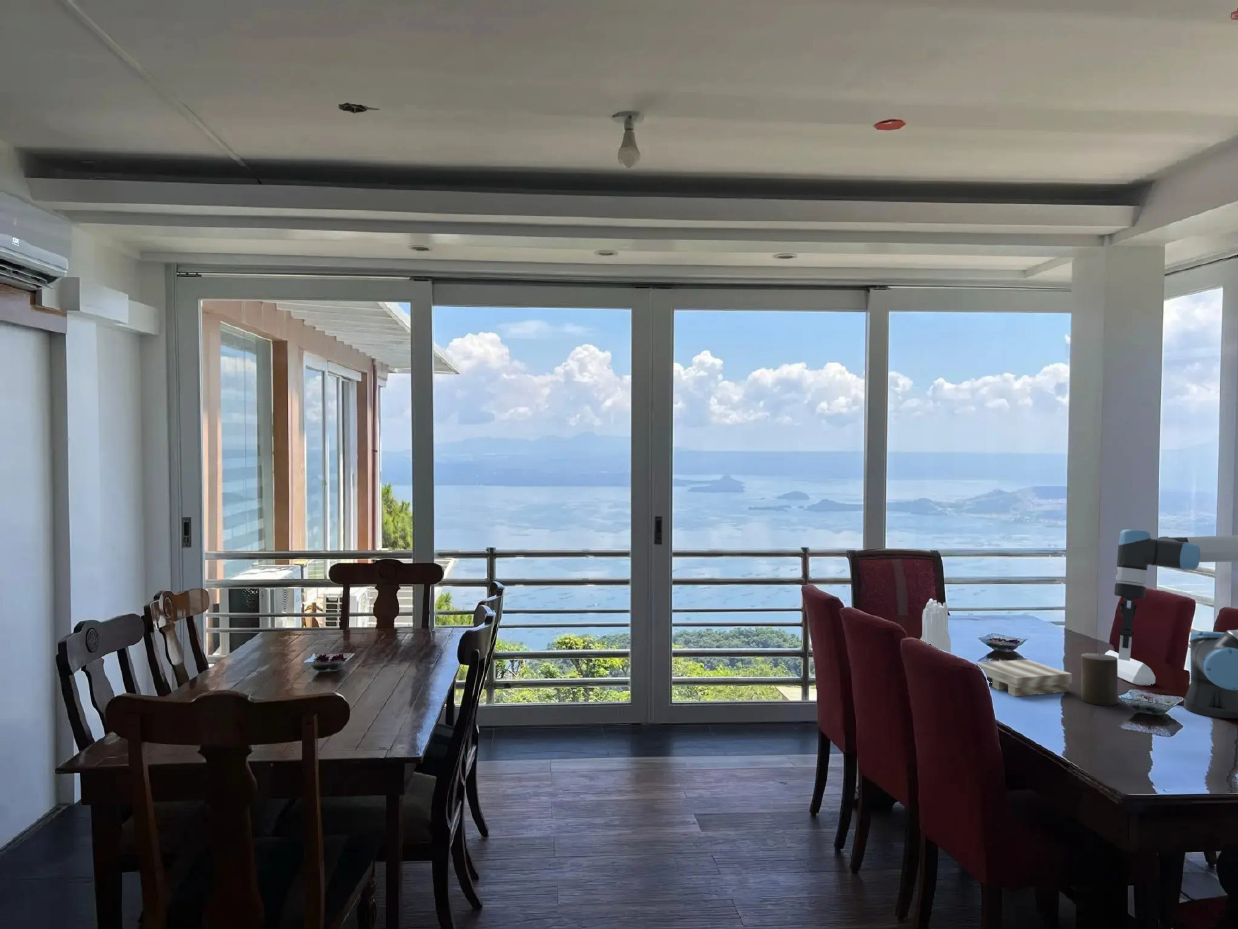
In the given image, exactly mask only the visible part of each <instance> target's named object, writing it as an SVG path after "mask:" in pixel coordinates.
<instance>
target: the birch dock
mask: <svg viewBox="0 0 1238 929" xmlns="http://www.w3.org/2000/svg"><path fill="white" fill-rule="evenodd" d="M976 664H977V665H979V666H980V667H981V669H983V670H984V672H985V674H986V676H987V680H988V681H989V682H990V684H991V682H992V688H993V687H994V688H993V689H995V688H996V689H995V690H998V691H1004V689H1007V692H1008V695H1010V694H1011V695H1010V696H1013V697H1023V696H1025V697H1027V696H1033V695H1032V694H1038V695H1040V694H1039V693H1050V694H1057V693H1056V692H1062V693H1069V692H1068V691H1070V689H1071V688H1070V687H1071V685H1070V684H1073V674H1072V673H1071V672H1068V671H1065V670H1061V669H1058V668H1055V667H1052V666H1049V665H1046V664H1043V663H1039V662H1037V661H1034V660H1030V659H1015V660H1002V661H1001V660H999V661H986V662H975V665H976ZM990 684H989V685H990ZM1066 691H1067V692H1066ZM1054 692H1055V693H1054ZM1070 692H1071V691H1070Z"/></svg>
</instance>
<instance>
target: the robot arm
mask: <svg viewBox="0 0 1238 929" xmlns="http://www.w3.org/2000/svg"><path fill="white" fill-rule="evenodd" d="M1117 545H1118V546H1117V557H1116V569H1115V570H1113V574H1116V575H1115V580H1116V581H1117V582H1115V583H1114V596H1117V597H1123V598H1124V599H1123V600H1122V602H1123V603H1122V602H1121V603H1120V606H1119V607H1120V608H1119V609H1120V617H1121V618H1122V619H1121V627H1120V631H1117V635H1118V636H1119V637H1120V638H1119V648H1118V649H1119V650H1118V653H1119V658H1118V659H1121V660H1127V661H1130V658H1131V650H1132V642H1133V641H1132V636H1135V631H1133V622H1134V621H1133V620H1134V619H1135V618H1136V612H1137V610H1138V608H1137V607H1138V605H1137V604H1136V602H1135V599H1139V600H1144V599H1146V589H1147V588H1146V586H1144V585H1146V584H1147V579H1148V566H1153V567H1154V566H1156V567H1157V566H1158V567H1164V568H1171V569H1179V570H1182V571H1184V570H1190V571H1195V570H1197V569H1198V567H1199V565H1200V563H1223V562H1224V563H1227V562H1229V563H1231V562H1238V534H1237V535H1236V534H1234V535H1208V536H1207V535H1203V536H1202V535H1201V536H1185V537H1183V536H1180V537H1179V536H1177V537H1176V536H1175V537H1170V536H1159V537H1156V538H1151V533H1150V532H1149V531H1146V530H1139V529H1126V528H1125V529H1122V530H1121V531H1120V533H1119V538H1118V544H1117ZM1189 638H1190V639H1189V643H1190V644H1189V646H1190V684H1189V685H1188V688H1187V691H1186V695H1185V696H1184V698H1183V707H1184V709H1185V710H1187V711H1189V712H1191V711H1192V713H1194V712H1195V714H1199V715H1202V716H1207V717H1211V718H1212V717H1213V718H1222V719H1238V629H1231V630H1230V629H1228V630H1226V631H1225V632H1223V631H1222V632H1220V631H1205V630H1193V631H1192V632H1191V633H1190V637H1189Z"/></svg>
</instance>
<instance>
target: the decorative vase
mask: <svg viewBox="0 0 1238 929" xmlns="http://www.w3.org/2000/svg"><path fill="white" fill-rule="evenodd" d="M948 610H949V609H948V603H947V602H945V601H944V602H943V603H941V602H939V601H938V600H937V599H935V600H934V599H933V598H930V599H928V601H927V603H926V605H925V608H924V609H923V610H922V616H921V619H922V620H921V623H922V624H921V625H922V635H921V637H920V638H919V639H920V640H922V641H924V642H926V643H927V644H931V645H932V646H934V647H936V648H938V649H941V650H944V651H947V652H950V653H951V654H952V651H951V650H952V649H951V648H952V646H951V645H952V643H951V642H952V640H951V637H950V634H949V615H948V614H949V612H948Z"/></svg>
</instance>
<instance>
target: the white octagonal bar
mask: <svg viewBox="0 0 1238 929" xmlns="http://www.w3.org/2000/svg"><path fill="white" fill-rule="evenodd" d="M1104 654H1105V655H1111V656H1114V657H1116V658H1117V663H1118V678H1120V679H1122V680H1125V681H1126V682H1129V683H1131V684H1134V685H1137V686H1152V685H1154V684H1156V676H1155V674H1154V672H1153V670H1152V669H1151V668H1150V667H1149V666H1148V665H1146V664H1145V663H1144V662H1142V661H1139V660H1136V659H1134V658H1131V657H1130V661H1127V660H1121V659H1118V658H1119V652H1116V651H1114V650H1112V649H1109V650H1108V651H1106V652H1105V653H1104ZM1151 684H1152V685H1151Z"/></svg>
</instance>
